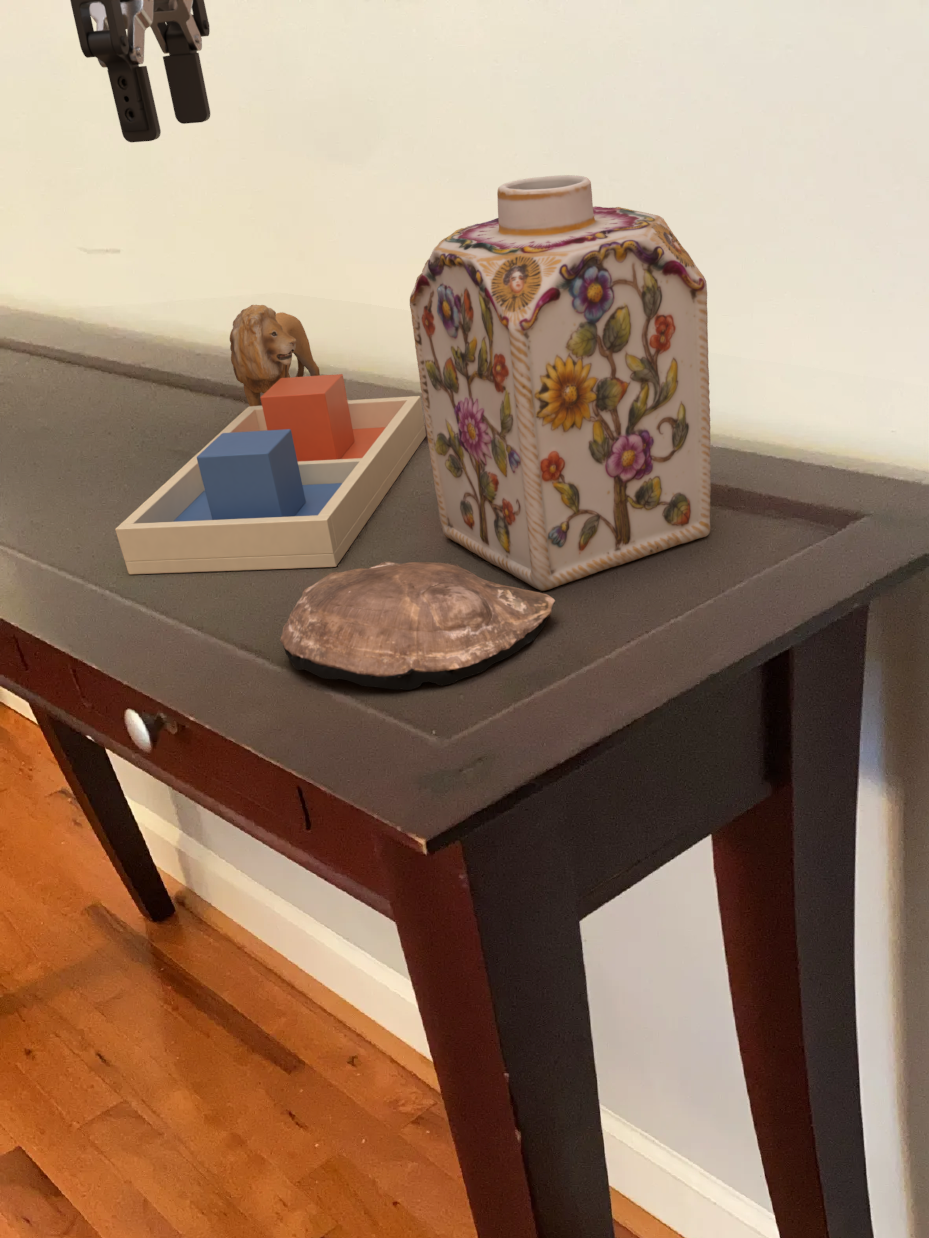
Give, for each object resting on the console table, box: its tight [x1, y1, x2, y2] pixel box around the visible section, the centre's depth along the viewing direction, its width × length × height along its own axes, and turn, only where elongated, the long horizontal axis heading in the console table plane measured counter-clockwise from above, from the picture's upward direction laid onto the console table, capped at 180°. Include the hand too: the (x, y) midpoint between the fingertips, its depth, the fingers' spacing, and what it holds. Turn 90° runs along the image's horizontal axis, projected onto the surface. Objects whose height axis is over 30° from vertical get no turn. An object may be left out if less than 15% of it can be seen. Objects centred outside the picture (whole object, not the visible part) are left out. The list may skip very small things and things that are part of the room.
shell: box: [279, 561, 556, 691], centre depth 63 cm, size 12×13×4 cm
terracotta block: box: [260, 373, 355, 462], centre depth 87 cm, size 4×4×4 cm
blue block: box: [197, 429, 306, 520], centre depth 77 cm, size 4×4×4 cm
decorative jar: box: [409, 174, 712, 592], centre depth 68 cm, size 12×12×18 cm
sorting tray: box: [115, 395, 427, 575], centre depth 83 cm, size 13×24×3 cm, turn 171°
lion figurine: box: [229, 304, 321, 407], centre depth 97 cm, size 15×5×9 cm, turn 2°
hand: (169, 131), depth 81 cm, fingers open, 8 cm apart
